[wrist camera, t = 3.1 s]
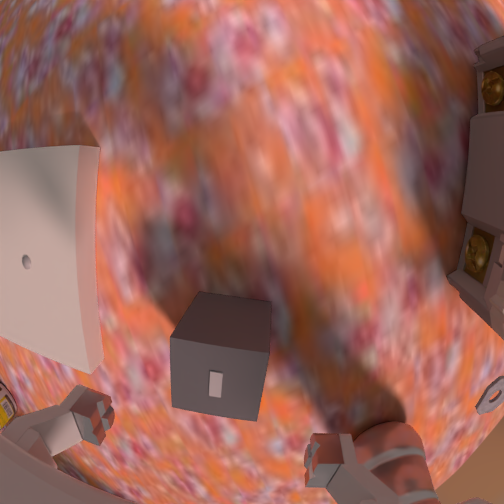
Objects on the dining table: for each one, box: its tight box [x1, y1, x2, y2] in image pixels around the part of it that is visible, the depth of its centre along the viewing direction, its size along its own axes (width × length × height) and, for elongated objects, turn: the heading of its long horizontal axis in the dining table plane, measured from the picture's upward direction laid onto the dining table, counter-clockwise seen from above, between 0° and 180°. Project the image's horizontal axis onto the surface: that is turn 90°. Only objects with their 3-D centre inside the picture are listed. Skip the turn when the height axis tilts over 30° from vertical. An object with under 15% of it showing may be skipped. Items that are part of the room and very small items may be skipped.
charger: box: [170, 292, 271, 422], centre depth 16 cm, size 5×5×6 cm
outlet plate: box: [0, 145, 104, 374], centre depth 18 cm, size 16×20×2 cm
